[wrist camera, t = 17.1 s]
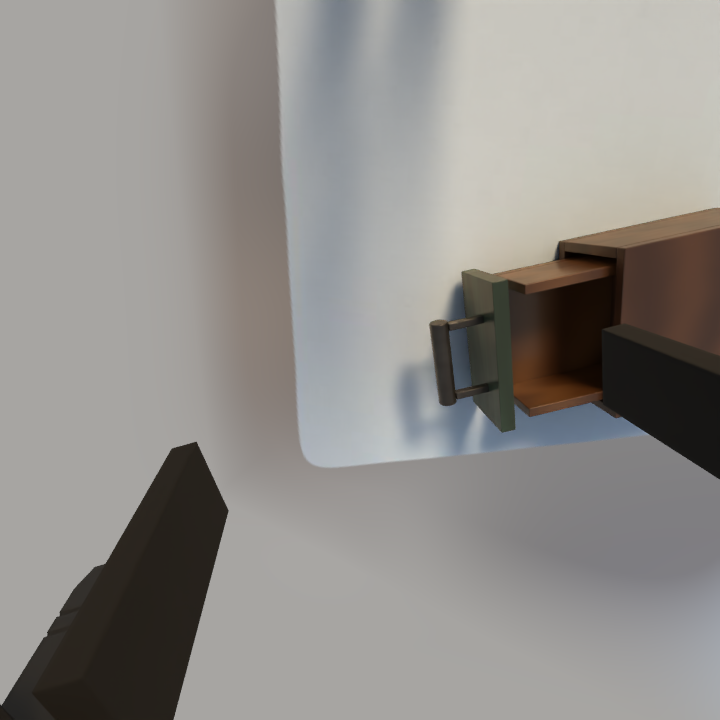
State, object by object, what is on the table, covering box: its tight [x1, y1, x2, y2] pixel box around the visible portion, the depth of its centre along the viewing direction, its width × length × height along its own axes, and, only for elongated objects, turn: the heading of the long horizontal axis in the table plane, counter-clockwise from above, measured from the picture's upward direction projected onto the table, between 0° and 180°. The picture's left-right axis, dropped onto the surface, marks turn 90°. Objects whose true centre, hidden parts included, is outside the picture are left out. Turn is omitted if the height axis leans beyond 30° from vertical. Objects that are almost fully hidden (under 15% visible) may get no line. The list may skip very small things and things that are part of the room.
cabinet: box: [559, 208, 720, 418], centre depth 34 cm, size 15×14×8 cm
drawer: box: [429, 254, 617, 433], centre depth 33 cm, size 18×12×6 cm
